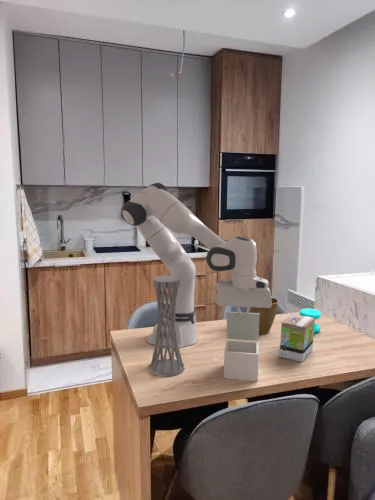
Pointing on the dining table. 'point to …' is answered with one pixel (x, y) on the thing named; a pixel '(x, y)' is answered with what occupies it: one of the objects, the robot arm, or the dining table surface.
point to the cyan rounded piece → (314, 314)
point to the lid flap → (243, 326)
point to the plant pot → (266, 316)
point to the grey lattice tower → (165, 365)
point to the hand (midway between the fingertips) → (243, 318)
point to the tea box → (297, 337)
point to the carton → (241, 360)
